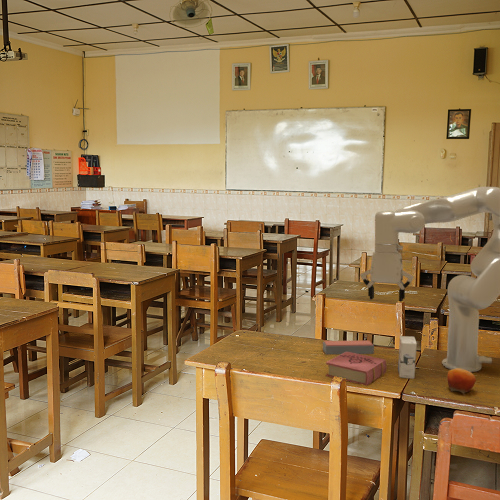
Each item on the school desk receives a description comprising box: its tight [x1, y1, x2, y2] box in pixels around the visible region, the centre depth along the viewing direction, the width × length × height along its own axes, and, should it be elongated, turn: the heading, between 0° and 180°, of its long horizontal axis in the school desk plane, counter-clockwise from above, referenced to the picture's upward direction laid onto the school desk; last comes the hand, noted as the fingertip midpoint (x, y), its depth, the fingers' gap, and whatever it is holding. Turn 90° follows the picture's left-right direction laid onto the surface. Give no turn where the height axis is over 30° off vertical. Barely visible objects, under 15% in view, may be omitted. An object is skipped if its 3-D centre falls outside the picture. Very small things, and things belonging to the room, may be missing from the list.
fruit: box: [446, 368, 477, 396], centre depth 163 cm, size 8×8×8 cm
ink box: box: [397, 335, 418, 379], centre depth 178 cm, size 9×5×12 cm, turn 168°
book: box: [325, 352, 388, 386], centre depth 177 cm, size 14×15×5 cm
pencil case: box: [322, 340, 375, 355], centre depth 202 cm, size 18×6×3 cm, turn 93°
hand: (386, 299), depth 179 cm, fingers open, 9 cm apart
